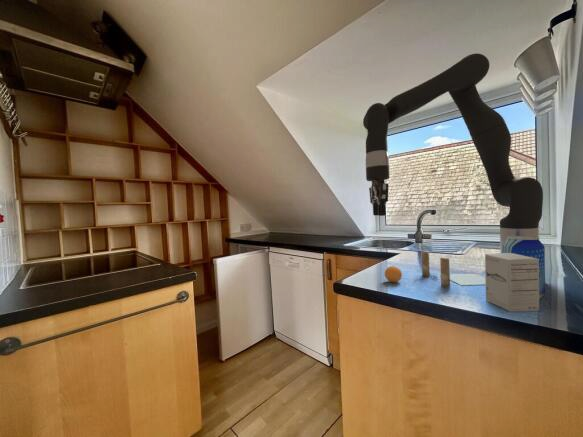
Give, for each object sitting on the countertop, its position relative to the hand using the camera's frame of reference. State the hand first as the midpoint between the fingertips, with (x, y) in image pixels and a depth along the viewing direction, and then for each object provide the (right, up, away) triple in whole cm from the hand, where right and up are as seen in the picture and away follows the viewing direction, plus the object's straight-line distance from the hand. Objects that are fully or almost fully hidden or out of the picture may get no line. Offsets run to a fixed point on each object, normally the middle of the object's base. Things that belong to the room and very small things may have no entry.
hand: (379, 215), depth 83 cm
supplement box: (+25, -23, -23) cm, 41 cm away
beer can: (+34, -22, -16) cm, 44 cm away
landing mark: (+30, -22, -1) cm, 37 cm away
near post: (+19, -23, -6) cm, 30 cm away
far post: (+19, -22, +6) cm, 30 cm away
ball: (+5, -20, 0) cm, 21 cm away
